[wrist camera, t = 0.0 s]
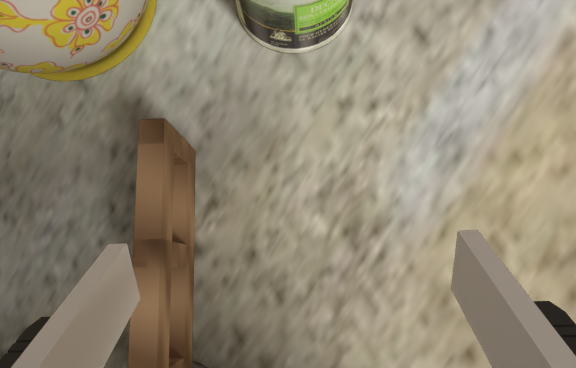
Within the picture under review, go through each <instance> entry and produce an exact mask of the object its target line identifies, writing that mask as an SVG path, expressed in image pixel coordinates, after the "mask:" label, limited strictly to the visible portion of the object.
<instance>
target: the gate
mask: <svg viewBox="0 0 576 368" xmlns="http://www.w3.org/2000/svg"><path fill="white" fill-rule="evenodd" d="M195 156H196V151H195V150H194V149H193V148H192V147H191V146H190V145H189V143H188V142H187V141H186V140H185V139H184V138H183V137H182V136H181V135H180V134H179V133H178V132H177V131H176V130H175V129H174V128H173V127H172V126H171V124H170V123H169V122H168V121H167V120H166V119H165V118H161V119H142V120H139V135H138V157H137V179H136V200H135V222H134V244H133V265H132V266H133V270H134V274H135V278H136V282H137V286H138V290H139V294H140V300H139V302H138V304H137V306H136V308H135V310H134V312H133V313H132V315H131V317H130V331H129V352H128V368H192V352H193V287H194V222H195Z"/></svg>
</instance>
